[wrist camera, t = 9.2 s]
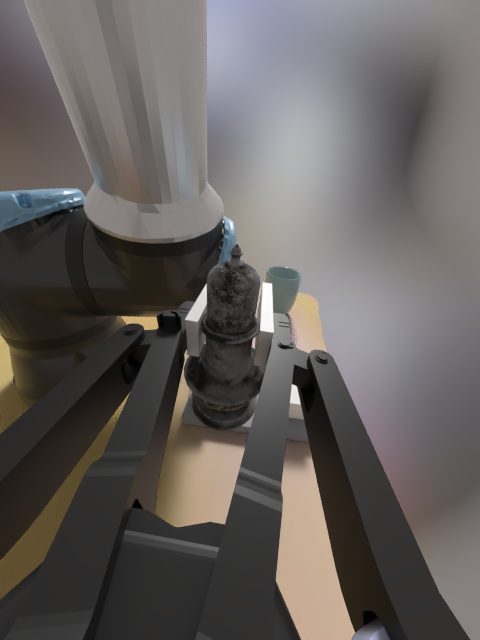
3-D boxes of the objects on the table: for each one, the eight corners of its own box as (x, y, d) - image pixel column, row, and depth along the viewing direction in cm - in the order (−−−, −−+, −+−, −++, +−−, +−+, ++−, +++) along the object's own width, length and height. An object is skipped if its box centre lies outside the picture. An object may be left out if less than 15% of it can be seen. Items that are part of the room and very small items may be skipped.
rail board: (182, 423, 26) (180, 402, 23) (207, 352, 36) (207, 332, 34) (309, 442, 25) (321, 423, 23) (296, 365, 36) (303, 345, 33)
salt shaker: (269, 384, 18) (308, 243, 11) (243, 450, 13) (281, 280, 7) (211, 360, 20) (213, 225, 13) (170, 412, 15) (140, 245, 8)
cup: (295, 320, 48) (307, 280, 42) (263, 320, 47) (271, 279, 41) (285, 303, 54) (294, 266, 49) (257, 302, 53) (263, 265, 47)
